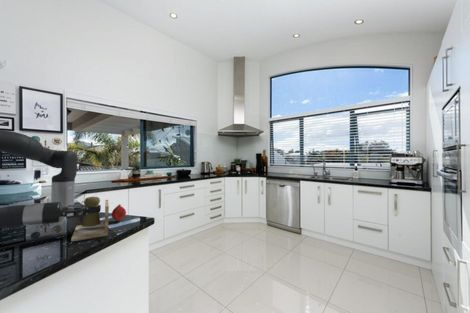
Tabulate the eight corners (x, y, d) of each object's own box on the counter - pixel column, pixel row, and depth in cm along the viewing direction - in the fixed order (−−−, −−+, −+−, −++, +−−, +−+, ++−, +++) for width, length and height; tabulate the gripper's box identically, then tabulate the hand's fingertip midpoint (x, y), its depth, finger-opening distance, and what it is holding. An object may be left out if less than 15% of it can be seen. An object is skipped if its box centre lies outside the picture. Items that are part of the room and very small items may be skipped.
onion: (110, 224, 91) (110, 206, 91) (112, 220, 96) (112, 203, 96) (125, 222, 93) (125, 205, 93) (126, 219, 98) (126, 202, 99)
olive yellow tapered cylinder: (90, 227, 77) (91, 198, 78) (77, 226, 79) (79, 197, 79) (103, 222, 83) (105, 196, 84) (91, 221, 85) (92, 195, 85)
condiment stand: (76, 228, 84) (77, 202, 85) (107, 224, 90) (108, 199, 91) (71, 241, 71) (72, 210, 71) (107, 235, 77) (108, 206, 77)
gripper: (38, 206, 67) (100, 202, 77) (48, 199, 79) (101, 196, 88) (37, 229, 67) (99, 222, 76) (47, 219, 79) (100, 213, 88)
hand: (100, 208), depth 82 cm, fingers closed on olive yellow tapered cylinder, 3 cm apart
